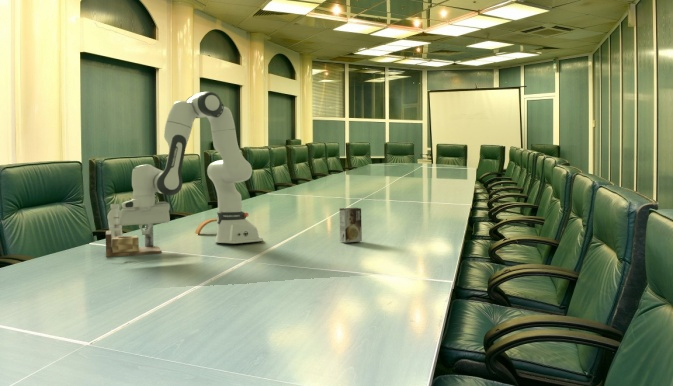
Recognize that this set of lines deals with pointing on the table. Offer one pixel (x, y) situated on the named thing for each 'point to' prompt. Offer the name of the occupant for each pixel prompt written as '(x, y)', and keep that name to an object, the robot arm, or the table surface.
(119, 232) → the plastic bottle
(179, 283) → the table surface
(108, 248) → the jig
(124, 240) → the tan square frame
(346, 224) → the coffee box
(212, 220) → the arch
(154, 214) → the robot arm
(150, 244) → the dowel
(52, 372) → the table surface
